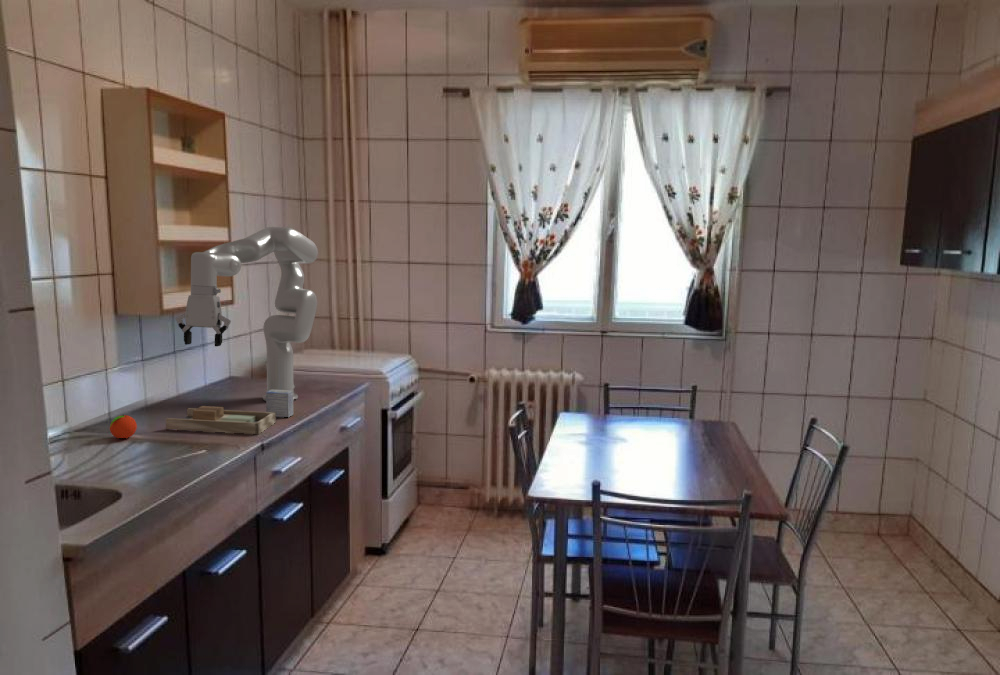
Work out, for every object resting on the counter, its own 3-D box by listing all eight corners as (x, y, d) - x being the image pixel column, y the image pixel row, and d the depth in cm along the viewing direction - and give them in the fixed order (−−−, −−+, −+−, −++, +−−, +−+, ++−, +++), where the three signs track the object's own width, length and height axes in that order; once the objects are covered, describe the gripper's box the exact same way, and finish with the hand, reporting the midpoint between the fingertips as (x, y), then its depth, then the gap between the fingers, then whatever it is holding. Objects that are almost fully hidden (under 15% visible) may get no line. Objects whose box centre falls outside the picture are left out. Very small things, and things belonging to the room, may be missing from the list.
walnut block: (202, 415, 216) (202, 406, 216) (223, 416, 216) (223, 407, 216) (192, 419, 210) (192, 410, 210) (214, 420, 210) (214, 411, 210)
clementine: (120, 444, 192) (119, 419, 191) (101, 441, 194) (100, 417, 193) (142, 436, 199) (141, 413, 198) (124, 434, 201) (123, 411, 200)
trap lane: (189, 418, 221) (188, 408, 220) (275, 422, 220) (275, 412, 219) (166, 429, 207) (165, 418, 207) (258, 434, 206) (258, 423, 205)
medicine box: (293, 415, 231) (293, 390, 229) (288, 418, 226) (288, 393, 225) (271, 413, 231) (271, 389, 230) (265, 416, 227) (265, 391, 226)
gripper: (235, 292, 217) (234, 345, 218) (182, 289, 217) (182, 342, 219) (225, 293, 209) (224, 347, 211) (170, 290, 210) (170, 344, 211)
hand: (202, 345), depth 215 cm, fingers open, 9 cm apart
